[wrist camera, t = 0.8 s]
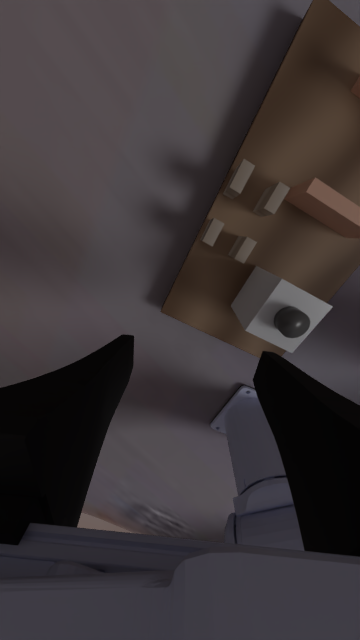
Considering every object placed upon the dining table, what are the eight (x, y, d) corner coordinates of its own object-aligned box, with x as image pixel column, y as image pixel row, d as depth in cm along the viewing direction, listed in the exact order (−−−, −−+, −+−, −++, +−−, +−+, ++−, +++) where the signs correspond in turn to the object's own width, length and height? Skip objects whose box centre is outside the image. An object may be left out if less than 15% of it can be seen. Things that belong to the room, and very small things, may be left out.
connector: (294, 286, 17) (343, 312, 12) (266, 323, 19) (299, 361, 13) (256, 265, 17) (289, 282, 11) (230, 305, 18) (249, 337, 13)
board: (449, 136, 14) (540, 104, 11) (268, 356, 22) (284, 381, 18) (303, 18, 12) (353, -74, 8) (162, 306, 20) (156, 323, 16)
